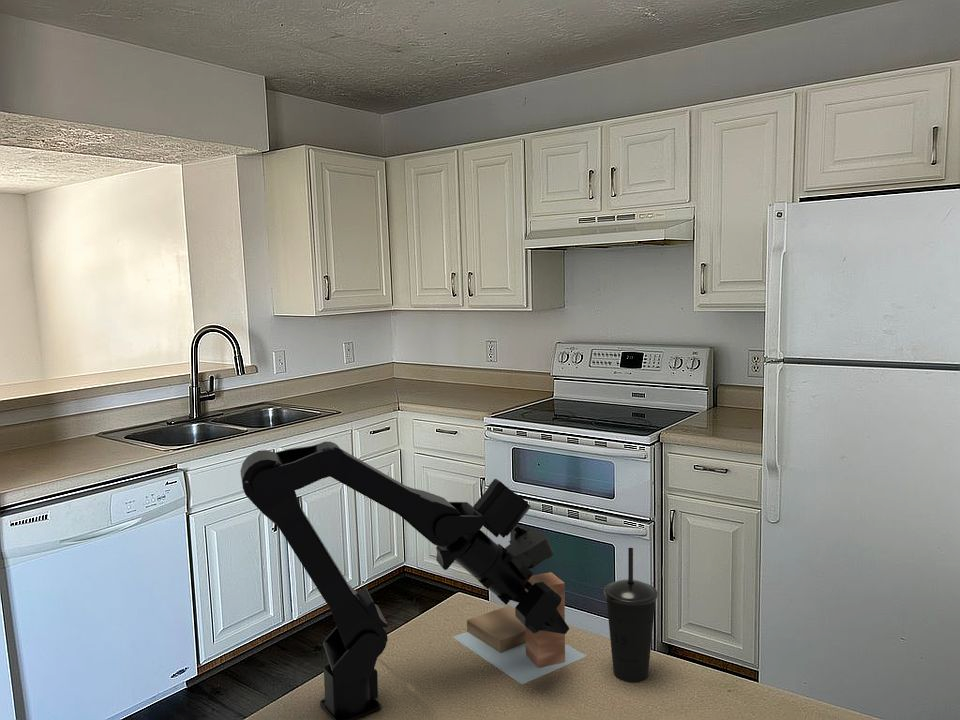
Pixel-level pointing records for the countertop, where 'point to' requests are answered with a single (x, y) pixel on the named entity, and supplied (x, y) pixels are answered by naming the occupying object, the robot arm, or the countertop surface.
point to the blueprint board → (515, 658)
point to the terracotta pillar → (546, 644)
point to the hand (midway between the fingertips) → (552, 618)
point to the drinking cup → (630, 625)
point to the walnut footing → (498, 629)
